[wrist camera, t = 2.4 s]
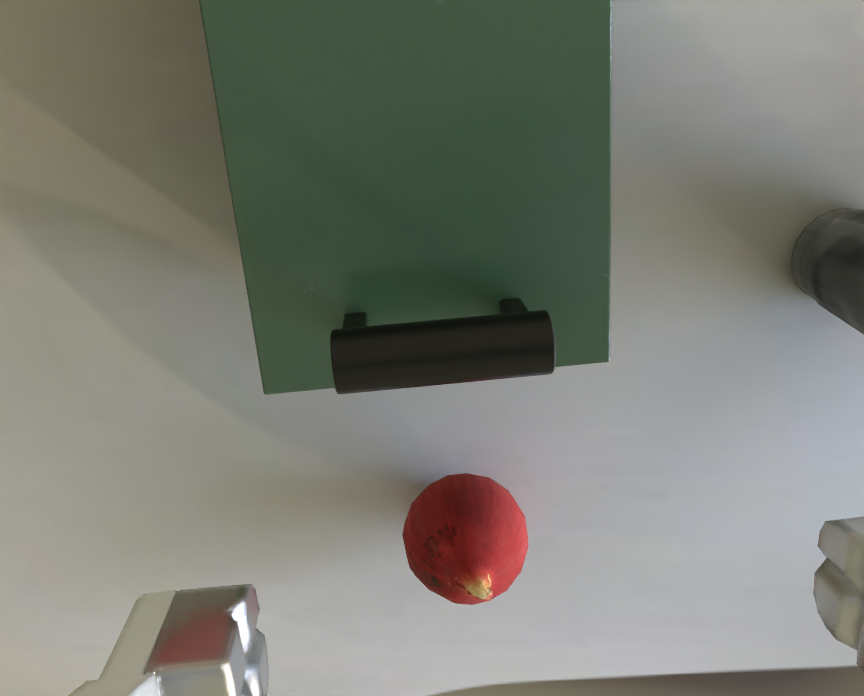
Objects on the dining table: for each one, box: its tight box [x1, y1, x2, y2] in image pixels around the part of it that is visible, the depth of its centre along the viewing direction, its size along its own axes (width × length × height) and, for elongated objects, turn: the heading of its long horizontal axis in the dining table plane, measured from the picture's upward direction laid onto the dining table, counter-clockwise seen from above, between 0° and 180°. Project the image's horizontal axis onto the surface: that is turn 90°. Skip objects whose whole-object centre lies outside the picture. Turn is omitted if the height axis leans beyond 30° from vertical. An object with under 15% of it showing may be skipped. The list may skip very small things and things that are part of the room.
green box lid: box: [199, 0, 612, 394], centre depth 20 cm, size 17×12×5 cm, turn 4°
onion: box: [403, 473, 528, 605], centre depth 34 cm, size 6×6×8 cm
